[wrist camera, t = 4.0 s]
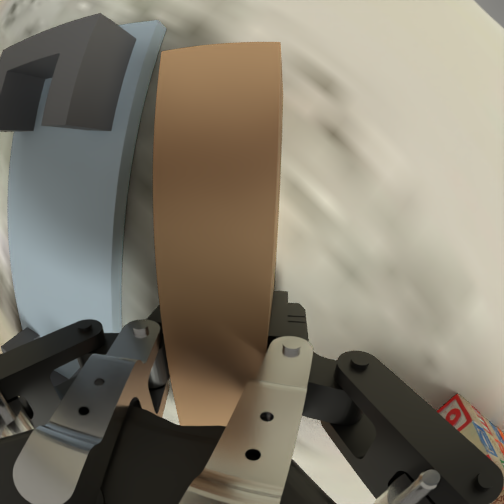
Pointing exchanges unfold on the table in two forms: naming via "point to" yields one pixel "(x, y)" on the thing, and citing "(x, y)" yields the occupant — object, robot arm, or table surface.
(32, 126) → the cap board
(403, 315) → the table surface
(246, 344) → the slat
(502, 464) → the stack of blocks
